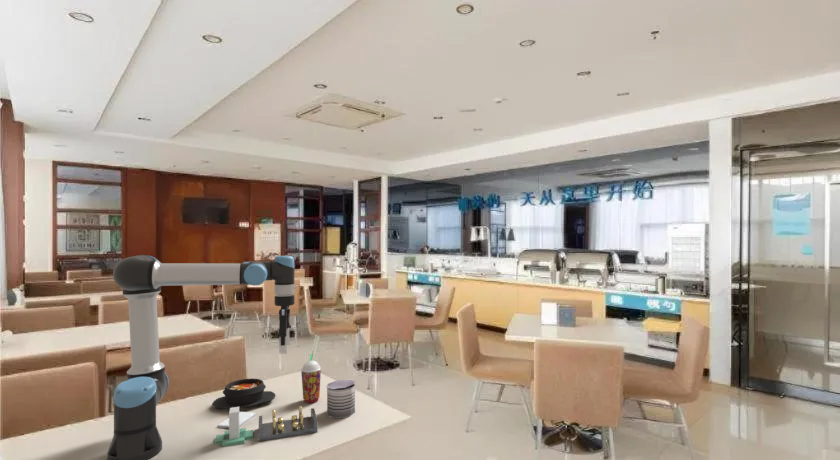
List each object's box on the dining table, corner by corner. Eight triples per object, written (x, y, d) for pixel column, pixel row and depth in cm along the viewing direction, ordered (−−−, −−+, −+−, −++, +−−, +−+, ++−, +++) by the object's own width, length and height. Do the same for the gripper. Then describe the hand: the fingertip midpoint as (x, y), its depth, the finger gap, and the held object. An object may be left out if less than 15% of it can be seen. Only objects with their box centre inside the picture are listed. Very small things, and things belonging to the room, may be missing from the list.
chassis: (258, 441, 150) (258, 422, 150) (258, 428, 160) (258, 410, 160) (317, 432, 156) (317, 414, 156) (314, 419, 167) (314, 403, 167)
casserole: (274, 392, 197) (274, 373, 197) (276, 407, 180) (276, 387, 180) (214, 400, 188) (214, 380, 188) (210, 416, 171) (210, 395, 171)
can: (340, 420, 166) (339, 389, 166) (320, 413, 173) (320, 383, 173) (361, 411, 175) (361, 381, 175) (342, 404, 182) (341, 376, 182)
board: (214, 448, 145) (214, 418, 145) (217, 435, 155) (217, 407, 155) (252, 442, 149) (252, 412, 149) (253, 430, 159) (252, 402, 159)
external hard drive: (255, 417, 171) (236, 430, 159) (237, 415, 173) (217, 429, 161) (255, 412, 171) (236, 426, 159) (237, 411, 173) (217, 424, 161)
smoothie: (299, 398, 188) (299, 353, 189) (319, 395, 192) (318, 350, 192) (303, 405, 181) (302, 357, 181) (323, 402, 184) (322, 355, 185)
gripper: (292, 299, 159) (292, 357, 159) (296, 290, 183) (296, 340, 183) (271, 299, 157) (270, 358, 157) (277, 291, 181) (277, 341, 181)
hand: (284, 349), depth 170 cm, fingers open, 13 cm apart
